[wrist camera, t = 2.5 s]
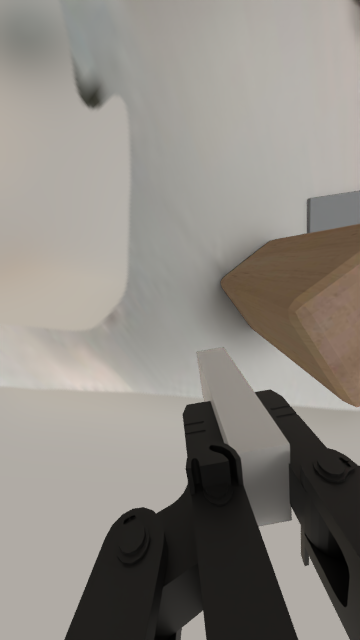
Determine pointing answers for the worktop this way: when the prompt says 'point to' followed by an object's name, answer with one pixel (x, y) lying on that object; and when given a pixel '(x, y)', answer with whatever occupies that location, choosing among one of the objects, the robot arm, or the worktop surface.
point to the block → (307, 303)
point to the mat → (333, 211)
